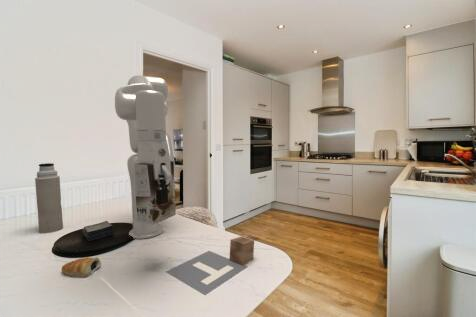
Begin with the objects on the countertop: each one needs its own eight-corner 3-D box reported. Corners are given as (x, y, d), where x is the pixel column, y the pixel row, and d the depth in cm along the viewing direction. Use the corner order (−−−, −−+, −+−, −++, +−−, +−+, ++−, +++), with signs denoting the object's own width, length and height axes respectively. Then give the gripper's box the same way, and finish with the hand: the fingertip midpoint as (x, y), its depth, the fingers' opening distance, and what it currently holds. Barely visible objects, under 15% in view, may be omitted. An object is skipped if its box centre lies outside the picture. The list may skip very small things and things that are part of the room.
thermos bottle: (58, 225, 106) (53, 162, 104) (66, 228, 102) (62, 163, 100) (35, 231, 99) (30, 164, 97) (43, 234, 95) (38, 164, 93)
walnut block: (229, 260, 70) (230, 239, 70) (240, 255, 74) (241, 236, 74) (242, 265, 67) (243, 244, 67) (253, 260, 71) (254, 240, 71)
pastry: (54, 278, 64) (53, 264, 64) (73, 265, 71) (72, 253, 70) (88, 278, 63) (87, 264, 63) (103, 265, 70) (103, 253, 70)
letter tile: (165, 273, 65) (165, 271, 65) (209, 252, 77) (208, 250, 77) (205, 297, 54) (205, 295, 54) (248, 268, 67) (248, 266, 67)
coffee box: (153, 225, 62) (150, 164, 61) (136, 222, 65) (132, 163, 64) (176, 214, 71) (174, 160, 69) (160, 212, 73) (157, 160, 72)
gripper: (182, 137, 62) (184, 203, 64) (148, 137, 73) (150, 193, 75) (156, 137, 57) (159, 210, 58) (123, 137, 68) (126, 198, 69)
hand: (154, 200), depth 67 cm, fingers closed on coffee box, 7 cm apart
